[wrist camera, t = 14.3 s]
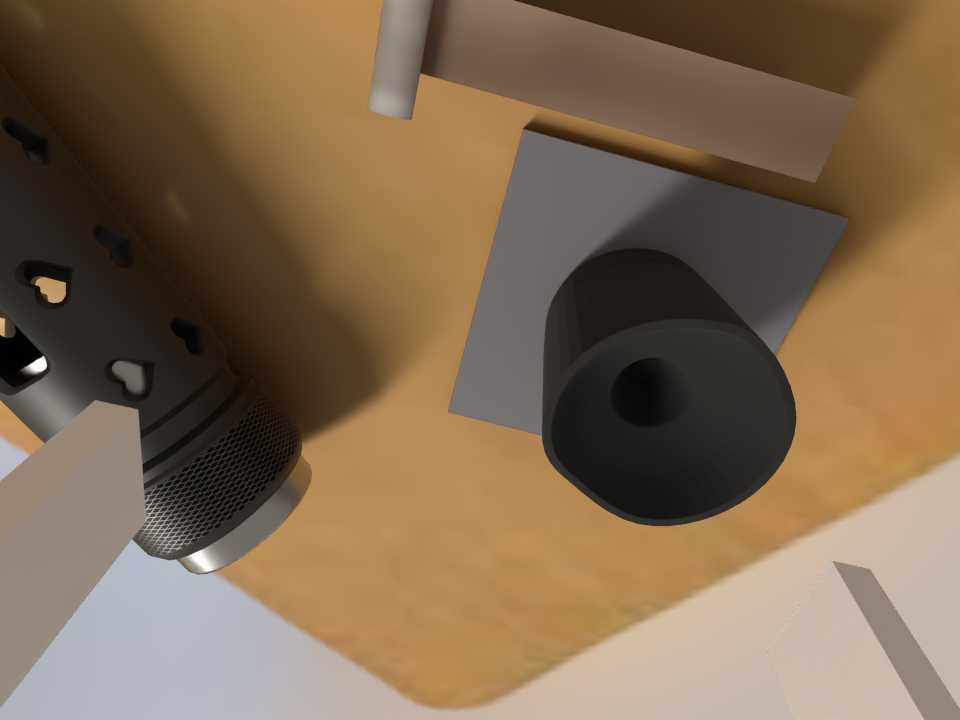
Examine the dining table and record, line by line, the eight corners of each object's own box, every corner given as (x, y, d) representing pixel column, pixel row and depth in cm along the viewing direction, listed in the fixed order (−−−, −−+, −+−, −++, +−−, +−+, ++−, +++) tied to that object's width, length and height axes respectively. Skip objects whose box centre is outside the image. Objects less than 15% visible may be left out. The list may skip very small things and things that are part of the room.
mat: (523, 127, 28) (523, 129, 27) (843, 216, 29) (849, 219, 28) (449, 406, 35) (448, 412, 35) (705, 470, 36) (708, 476, 36)
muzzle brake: (-11, -52, 26) (-299, -106, 17) (348, 426, 37) (288, 552, 28) (-138, 64, 29) (-446, 72, 20) (230, 479, 39) (140, 610, 30)
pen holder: (542, 404, 34) (547, 529, 25) (532, 244, 30) (535, 327, 21) (711, 396, 33) (779, 523, 24) (727, 230, 29) (816, 310, 20)
